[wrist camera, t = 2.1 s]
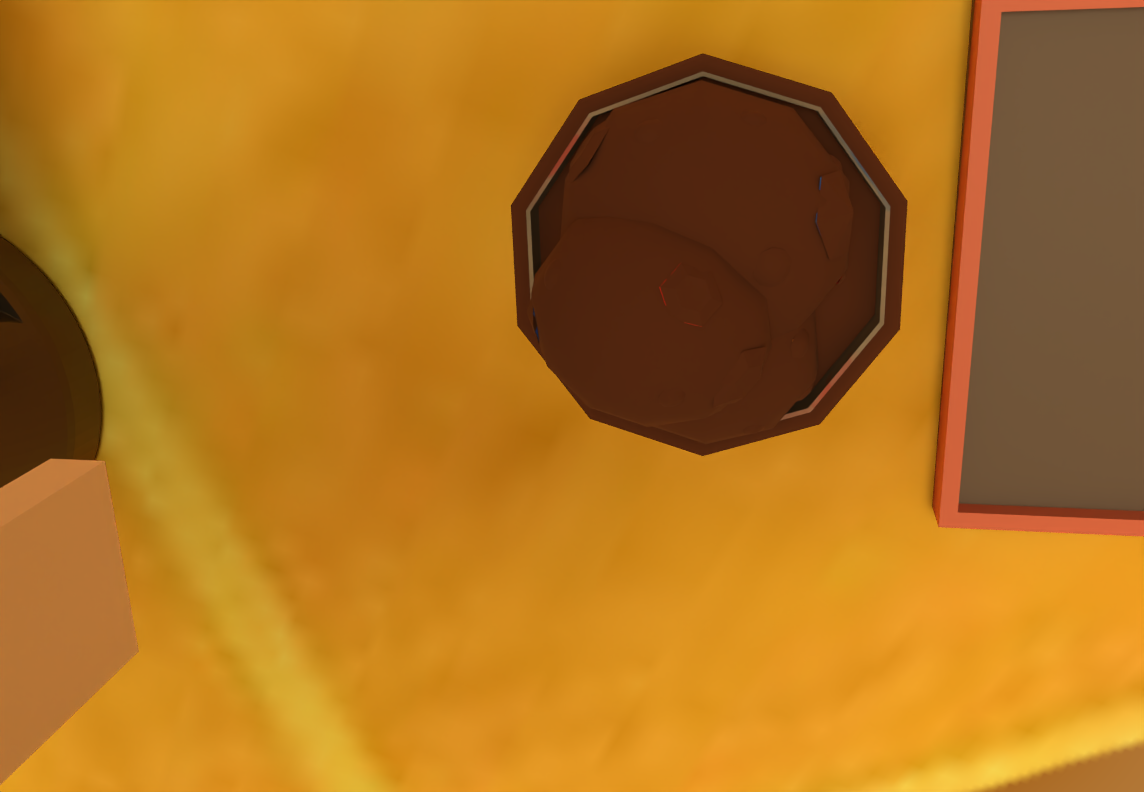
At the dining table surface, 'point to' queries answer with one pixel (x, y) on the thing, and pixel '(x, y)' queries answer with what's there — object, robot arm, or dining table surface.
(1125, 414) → the serving tray
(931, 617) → the dining table surface
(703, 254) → the ice cream bowl
